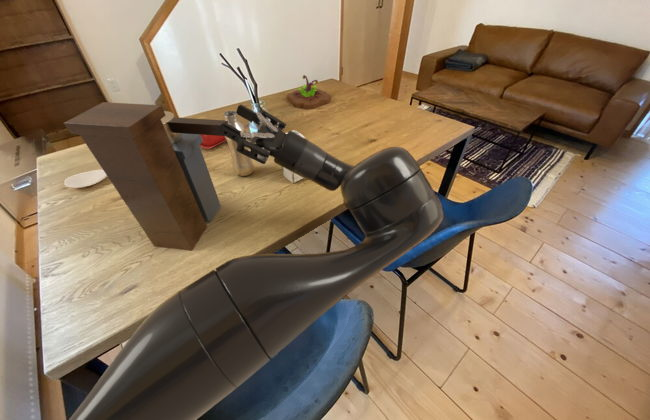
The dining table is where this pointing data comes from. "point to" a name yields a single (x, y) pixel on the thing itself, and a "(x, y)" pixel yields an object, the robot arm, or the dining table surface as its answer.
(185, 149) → the blue-grey block
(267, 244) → the dining table surface
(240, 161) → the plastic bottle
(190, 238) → the tall stand
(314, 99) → the plant
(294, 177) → the syrup box
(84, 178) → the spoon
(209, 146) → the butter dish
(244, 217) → the dining table surface
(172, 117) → the milk pan
